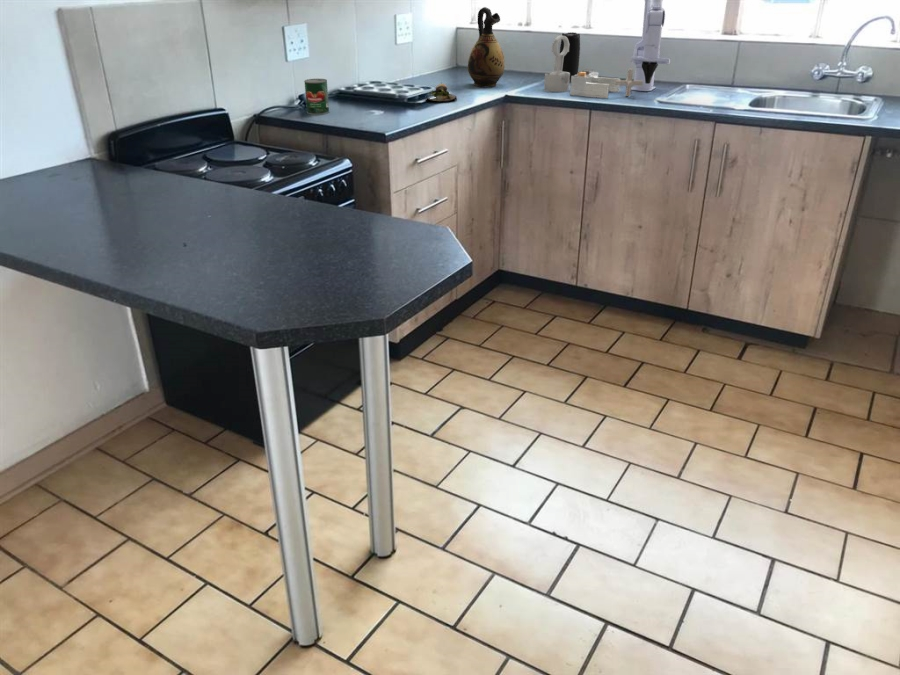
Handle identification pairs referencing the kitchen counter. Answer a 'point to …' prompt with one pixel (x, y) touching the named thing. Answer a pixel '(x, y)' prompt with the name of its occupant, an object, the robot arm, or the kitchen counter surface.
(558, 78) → the engine component
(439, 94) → the burger
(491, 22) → the ceramic jug
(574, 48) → the portable speaker
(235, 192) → the kitchen counter surface
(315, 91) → the canned tomato
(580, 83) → the motor housing
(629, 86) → the pipe connector
